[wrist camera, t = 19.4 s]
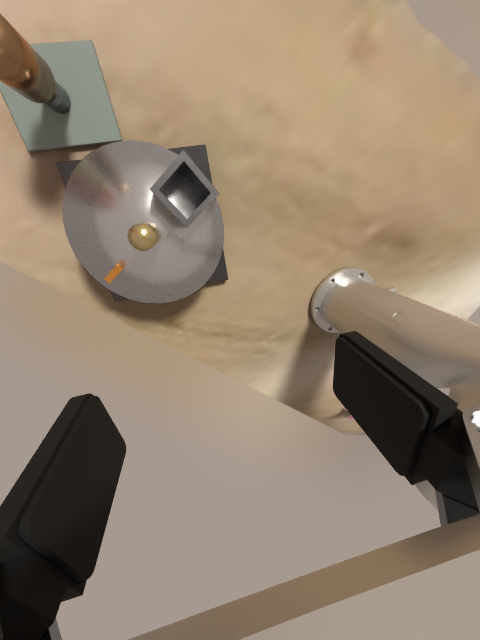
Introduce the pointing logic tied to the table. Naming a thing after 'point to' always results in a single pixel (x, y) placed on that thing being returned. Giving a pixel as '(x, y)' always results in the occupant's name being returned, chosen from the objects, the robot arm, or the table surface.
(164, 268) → the chuck disc
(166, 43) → the table surface
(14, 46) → the copper bullet
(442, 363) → the robot arm
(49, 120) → the mat
